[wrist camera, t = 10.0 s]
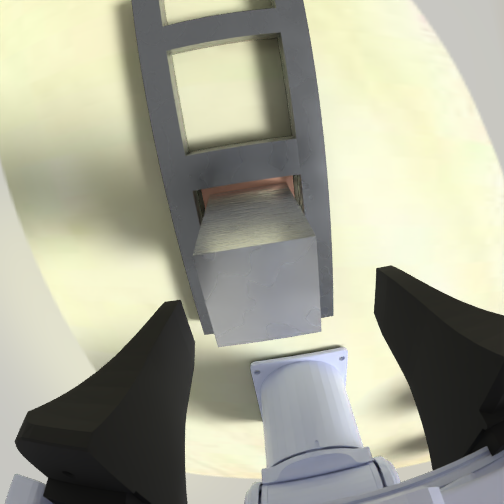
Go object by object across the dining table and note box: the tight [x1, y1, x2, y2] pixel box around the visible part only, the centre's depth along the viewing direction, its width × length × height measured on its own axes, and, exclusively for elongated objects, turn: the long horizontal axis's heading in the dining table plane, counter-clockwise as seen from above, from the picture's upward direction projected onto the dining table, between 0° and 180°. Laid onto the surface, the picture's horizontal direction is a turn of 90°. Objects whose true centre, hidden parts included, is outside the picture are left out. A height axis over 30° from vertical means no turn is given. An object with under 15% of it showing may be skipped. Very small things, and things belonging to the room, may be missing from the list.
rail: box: [132, 0, 333, 335], centre depth 18 cm, size 22×9×2 cm, turn 8°
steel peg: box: [193, 182, 321, 347], centre depth 16 cm, size 4×4×8 cm
